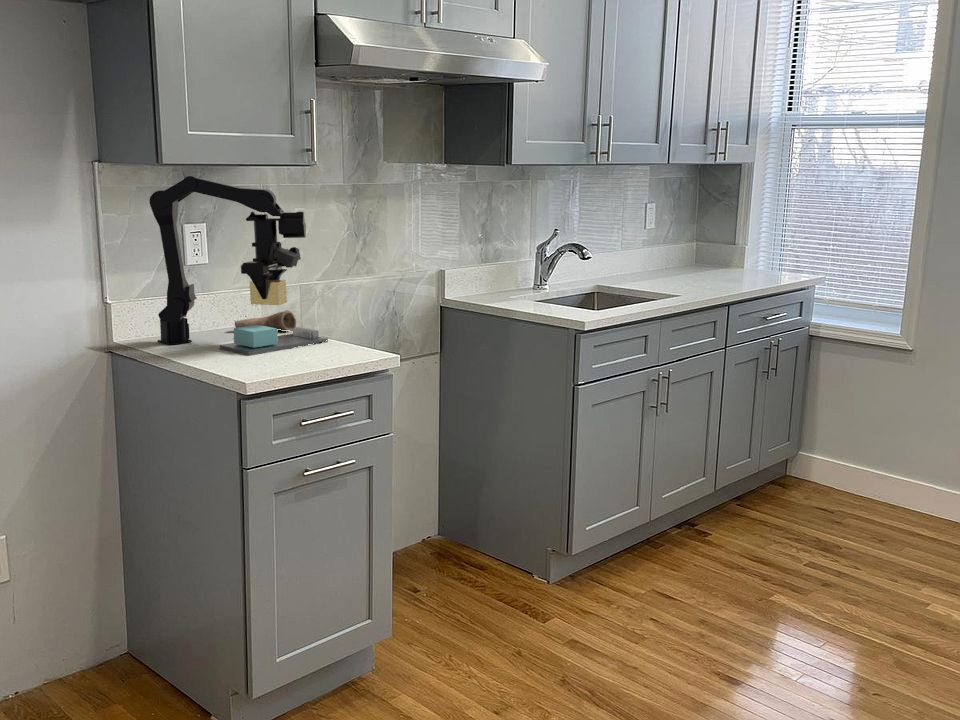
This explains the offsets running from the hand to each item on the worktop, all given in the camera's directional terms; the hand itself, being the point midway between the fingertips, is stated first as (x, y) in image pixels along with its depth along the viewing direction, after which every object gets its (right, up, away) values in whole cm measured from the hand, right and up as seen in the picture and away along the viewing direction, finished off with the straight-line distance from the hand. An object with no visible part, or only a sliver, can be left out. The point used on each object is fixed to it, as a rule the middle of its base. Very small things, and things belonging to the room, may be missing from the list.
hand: (268, 297), depth 249 cm
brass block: (0, -1, 0) cm, 2 cm away
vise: (+2, -13, -1) cm, 13 cm away
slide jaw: (-2, -12, -6) cm, 14 cm away
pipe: (-5, -9, +19) cm, 22 cm away
